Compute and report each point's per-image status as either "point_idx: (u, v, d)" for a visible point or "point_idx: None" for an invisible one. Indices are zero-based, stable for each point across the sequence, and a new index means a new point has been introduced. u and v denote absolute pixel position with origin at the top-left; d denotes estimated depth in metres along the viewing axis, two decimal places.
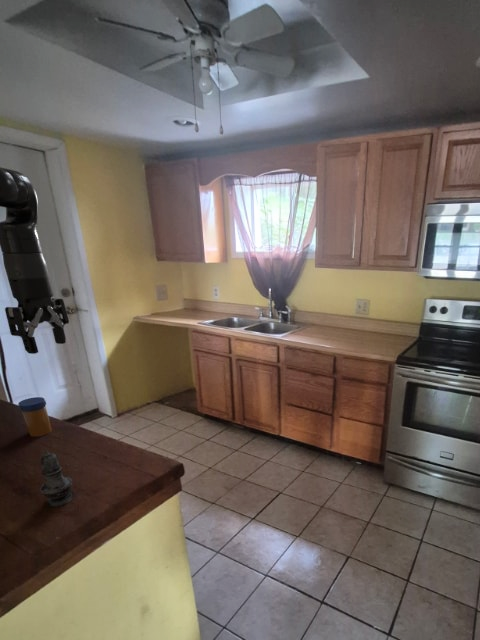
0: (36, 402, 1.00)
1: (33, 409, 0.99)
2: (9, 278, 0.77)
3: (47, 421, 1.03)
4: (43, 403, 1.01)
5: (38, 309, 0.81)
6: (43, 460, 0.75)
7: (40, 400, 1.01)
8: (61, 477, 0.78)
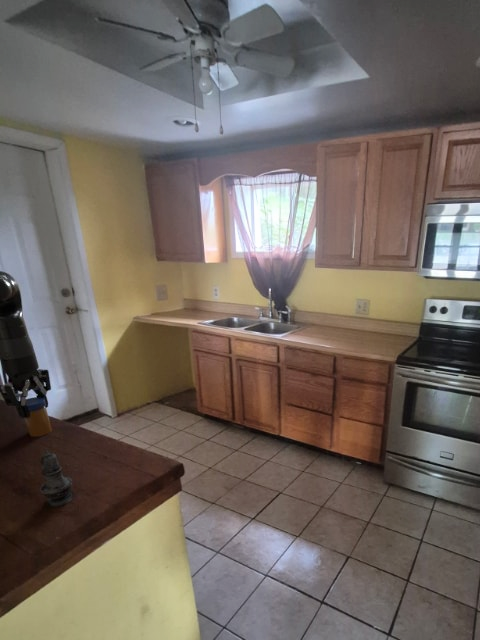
0: (36, 402, 1.00)
1: (33, 409, 0.99)
2: (0, 358, 0.92)
3: (47, 421, 1.03)
4: (43, 403, 1.01)
5: (25, 381, 0.96)
6: (43, 460, 0.75)
7: (40, 400, 1.01)
8: (61, 477, 0.78)
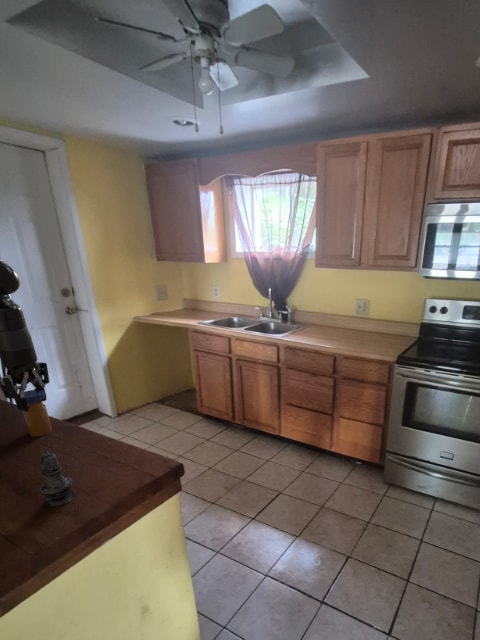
0: (25, 392, 1.01)
1: None
2: None
3: (48, 421, 1.03)
4: None
5: None
6: (43, 460, 0.75)
7: None
8: (61, 477, 0.78)
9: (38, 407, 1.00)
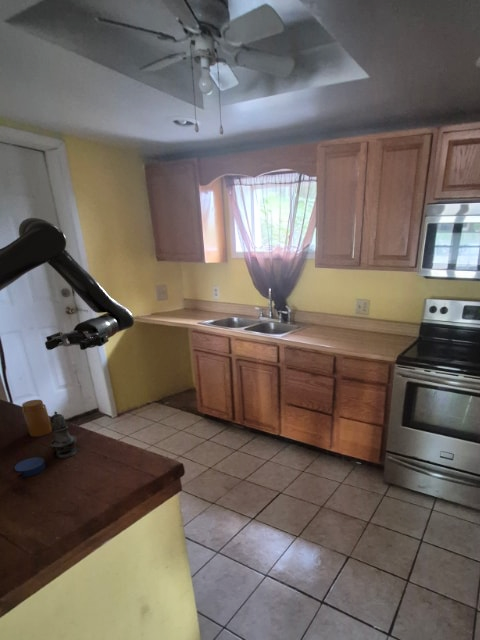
0: (23, 462, 0.90)
1: None
2: None
3: (48, 421, 1.03)
4: None
5: None
6: (53, 419, 0.92)
7: (19, 465, 0.88)
8: (67, 434, 0.95)
9: (38, 407, 1.00)
